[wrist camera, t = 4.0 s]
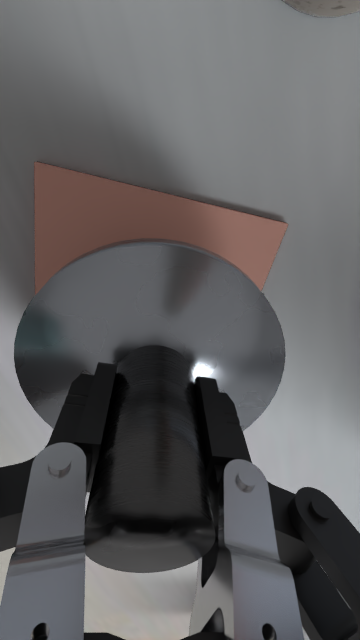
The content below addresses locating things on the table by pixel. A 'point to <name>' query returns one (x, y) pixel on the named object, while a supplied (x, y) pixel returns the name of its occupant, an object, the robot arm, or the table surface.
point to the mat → (139, 223)
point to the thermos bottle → (325, 7)
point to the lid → (150, 384)
